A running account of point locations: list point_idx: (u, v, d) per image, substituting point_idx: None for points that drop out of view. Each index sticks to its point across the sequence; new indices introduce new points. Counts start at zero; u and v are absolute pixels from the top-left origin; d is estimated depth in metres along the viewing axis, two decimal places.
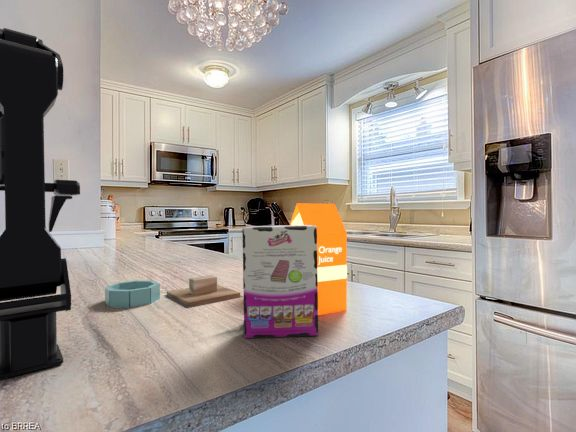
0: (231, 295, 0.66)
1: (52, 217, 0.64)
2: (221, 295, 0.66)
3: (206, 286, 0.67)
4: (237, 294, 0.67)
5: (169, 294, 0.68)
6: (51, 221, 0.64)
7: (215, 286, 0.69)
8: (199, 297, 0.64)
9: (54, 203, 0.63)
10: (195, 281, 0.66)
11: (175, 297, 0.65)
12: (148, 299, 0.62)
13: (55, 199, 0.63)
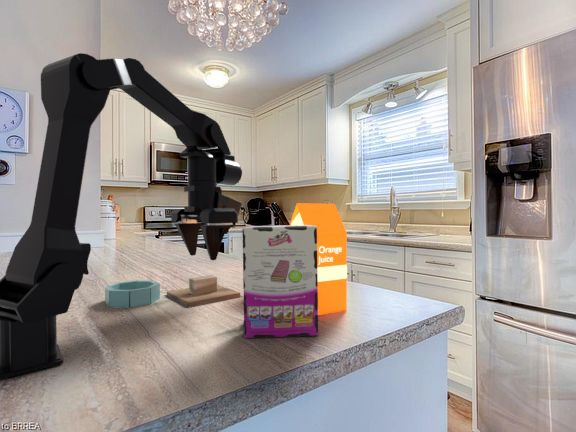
0: (231, 295, 0.66)
1: (206, 246, 0.63)
2: (221, 295, 0.66)
3: (206, 286, 0.67)
4: (237, 294, 0.67)
5: (169, 294, 0.68)
6: (207, 250, 0.64)
7: (215, 286, 0.69)
8: (199, 297, 0.64)
9: (202, 232, 0.62)
10: (195, 281, 0.66)
11: (175, 297, 0.65)
12: (148, 299, 0.62)
13: (201, 228, 0.62)
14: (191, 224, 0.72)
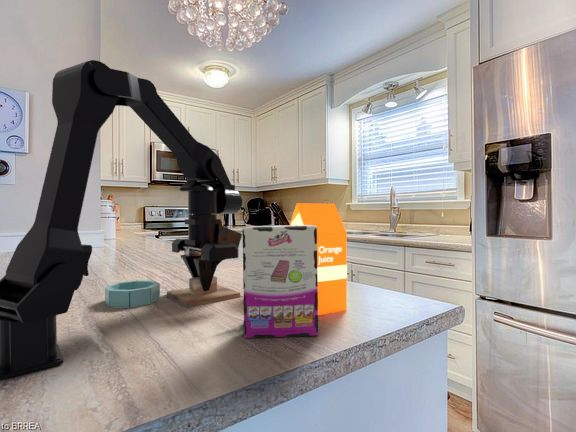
0: (231, 295, 0.66)
1: (199, 278, 0.66)
2: (221, 295, 0.66)
3: None
4: (237, 294, 0.67)
5: (169, 294, 0.68)
6: (200, 281, 0.66)
7: (215, 286, 0.69)
8: (199, 297, 0.64)
9: (195, 265, 0.65)
10: (195, 281, 0.66)
11: (175, 297, 0.65)
12: (148, 299, 0.62)
13: (194, 262, 0.65)
14: (198, 256, 0.69)
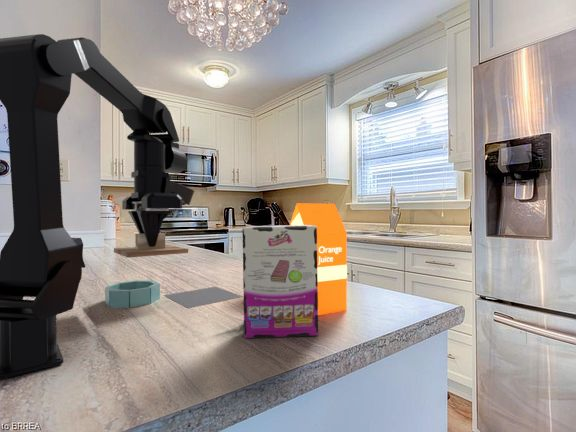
0: (177, 250, 0.63)
1: (144, 232, 0.63)
2: (166, 250, 0.63)
3: None
4: (184, 250, 0.64)
5: (115, 250, 0.65)
6: (145, 236, 0.63)
7: (163, 243, 0.66)
8: (142, 250, 0.61)
9: (139, 218, 0.62)
10: (140, 235, 0.63)
11: (119, 251, 0.63)
12: (148, 299, 0.62)
13: (138, 214, 0.62)
14: None
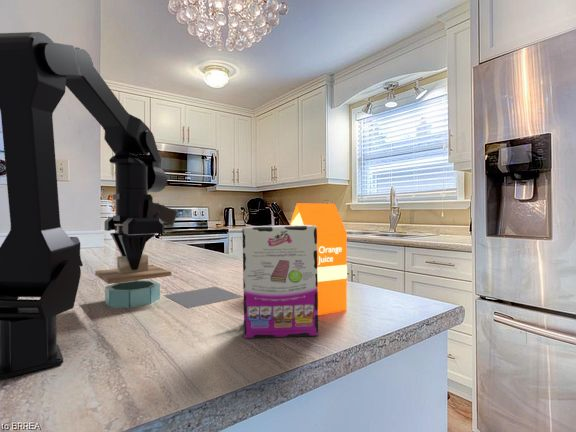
0: (160, 274, 0.63)
1: (126, 256, 0.62)
2: (149, 273, 0.62)
3: None
4: (167, 273, 0.64)
5: (96, 273, 0.64)
6: (127, 259, 0.63)
7: (146, 265, 0.65)
8: (124, 275, 0.61)
9: (120, 242, 0.62)
10: (122, 259, 0.62)
11: (100, 275, 0.62)
12: (148, 299, 0.62)
13: (119, 238, 0.61)
14: None
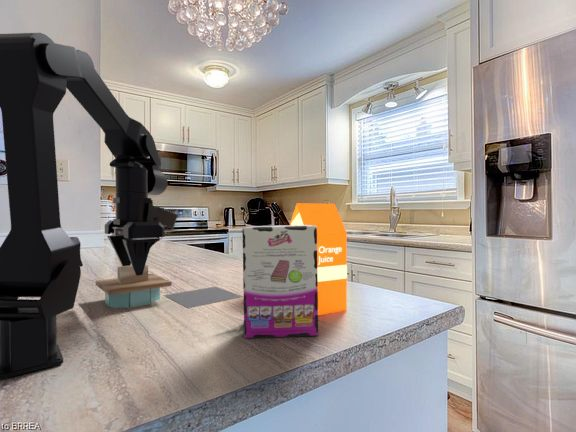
0: (160, 284, 0.63)
1: (130, 261, 0.60)
2: (149, 284, 0.62)
3: (136, 275, 0.64)
4: (168, 283, 0.64)
5: (97, 283, 0.64)
6: (132, 265, 0.61)
7: (146, 275, 0.65)
8: (124, 286, 0.61)
9: (125, 247, 0.60)
10: (122, 269, 0.62)
11: (100, 286, 0.62)
12: (148, 299, 0.62)
13: (123, 243, 0.59)
14: None
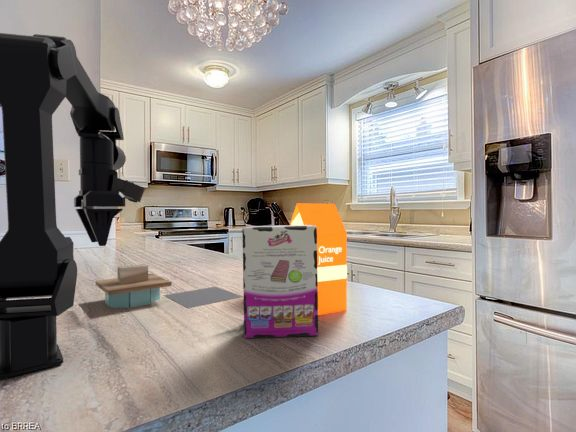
0: (160, 284, 0.63)
1: (93, 231, 0.60)
2: (149, 284, 0.62)
3: (136, 275, 0.64)
4: (168, 283, 0.64)
5: (97, 283, 0.64)
6: (94, 235, 0.61)
7: (146, 275, 0.65)
8: (124, 286, 0.61)
9: (86, 216, 0.59)
10: (122, 269, 0.62)
11: (100, 286, 0.62)
12: (148, 299, 0.62)
13: (85, 212, 0.59)
14: None
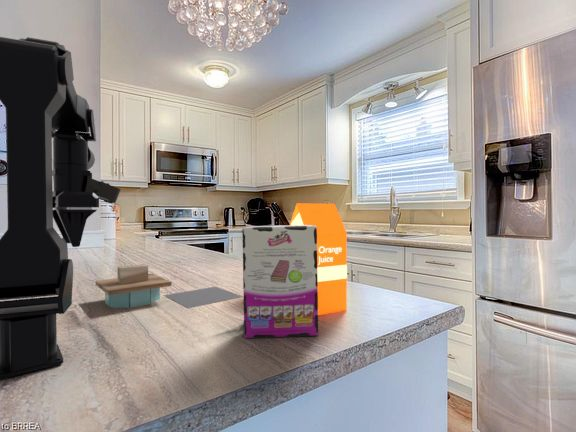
0: (160, 284, 0.63)
1: (66, 232, 0.60)
2: (149, 284, 0.62)
3: (136, 275, 0.64)
4: (168, 283, 0.64)
5: (97, 283, 0.64)
6: (67, 236, 0.61)
7: (146, 275, 0.65)
8: (124, 286, 0.61)
9: (59, 217, 0.59)
10: (122, 269, 0.62)
11: (100, 286, 0.62)
12: (148, 299, 0.62)
13: (57, 213, 0.59)
14: None
